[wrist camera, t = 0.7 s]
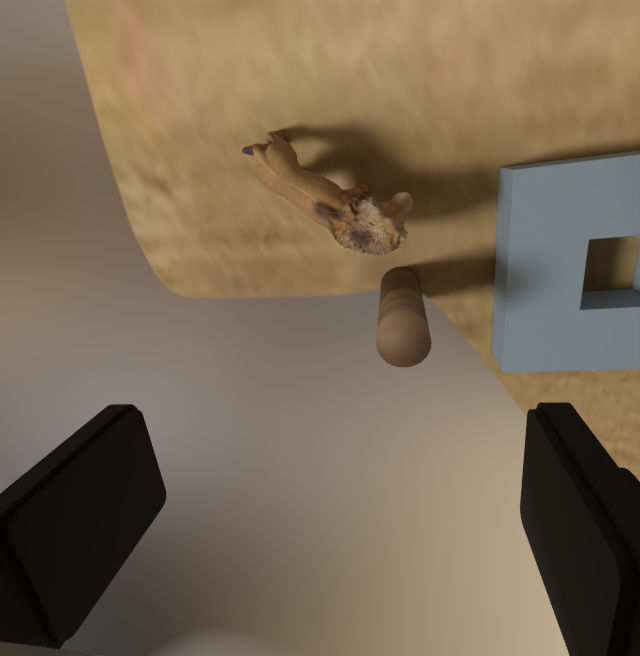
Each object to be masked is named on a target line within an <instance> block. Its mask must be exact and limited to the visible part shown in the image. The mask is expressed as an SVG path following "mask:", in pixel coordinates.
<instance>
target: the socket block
mask: <svg viewBox="0 0 640 656" xmlns="http://www.w3.org/2000/svg"><path fill="white" fill-rule="evenodd" d="M636 235H640V150H636V151H628V152H620V153H612V154H604V155H596V156H587V157H579V158H571V159H563V160H555V161H547V162H539V163H530V164H522V165H514V166H506V167H499V187H498V211H497V235H496V259H495V283H494V307H493V330H492V353H493V355H494V357H495V359H496V361H497V363H498V365H499V367H500V369H501V371H502V373H511V372H546V371H582V370H618V369H640V246H639V251H638V257H637V262H636V268H635V274H634V279H633V285H632V289H618V290H602V291H586V292H582V289H583V281H584V273H585V266H586V258H587V250H588V243H589V240H590V239H601V238H613V237H625V236H636Z"/></svg>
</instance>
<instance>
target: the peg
mask: <svg viewBox="0 0 640 656" xmlns="http://www.w3.org/2000/svg"><path fill="white" fill-rule="evenodd" d="M430 348H431V338H430V333H429V328H428V323H427V318H426V313H425V308H424V303H423V298H422V293H421V288H420V283H419V279H418V277H417V275H416V274H415V273H414V272H413V271H412V270H410V269H408V268H405V267H397V268H393V269H391V270H390V271H388V272H387V273H386V274H385V275H384V277H383V279H382V282H381V294H380V305H379V317H378V330H377V350H378V352H379V354H380V356H381V357H382V358H383V359H384V360H385V361H386V362H387V363H389V364H391V365H393V366H397V367H411V366H414V365H416V364H418V363H420V362H422V361H423V360H424V359H425V358H426V357H427V355H428V353H429V351H430Z"/></svg>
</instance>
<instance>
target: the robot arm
mask: <svg viewBox="0 0 640 656" xmlns="http://www.w3.org/2000/svg"><path fill="white" fill-rule="evenodd" d="M525 438H526V439H525V451H524V463H523V476H522V489H521V502H520V514H521V519H522V524H523V527H524V530H525V533H526V535H527V538H528V541H529V544H530V546H531V549H532V552H533V554H534V557H535V560H536V563H537V566H538V569H539V571H540V574H541V577H542V580H543V583H544V585H545V588H546V591H547V594H548V596H549V599H550V602H551V605H552V608H553V610H554V613H555V616H556V619H557V621H558V624H559V627H560V630H561V633H562V636H563V638H564V641H565V644H566V647H567V649H568V652H569V655H570V656H640V482H639V481H638V479H637V478H636V477H635V476H634V475H633V474H632V473H631V472H630V471H629V470H627V469H625V468H619V467H618V466H617V465H616V463H615V462H614V461H613V459H612V458H611V457H610V455H609V454H608V453H607V451H606V450H605V449H604V447H603V446H602V445H601V443H600V442H599V441H598V439H597V438H596V437H595V435H594V434H593V433H592V431H591V430H590V429H589V427H588V426H587V425H586V423H585V422H584V421H583V419H582V418H581V417H580V415H579V414H578V413H577V411H576V410H575V409H574V407H573V406H572V405H571V404H570V403H539V404H538V405H537V408H536V409H530V410H529V411H528V414H527V425H526V437H525ZM165 501H166V490H165V486H164V483H163V480H162V476H161V473H160V470H159V467H158V463H157V460H156V456H155V454H154V450H153V447H152V443H151V440H150V437H149V433H148V430H147V427H146V424H145V420H144V417H143V414H142V412H141V411H139V410H137V408H136V407H135V406H134V405H132V404H129V405H128V404H123V405H122V404H121V405H120V404H117V405H116V404H114V405H109V406H107V407H106V408H105V409H103V410H102V411H101V412H100V413H98V414H97V415H96V416H95V417H93V418H92V419H91V420H90V421H89V422H88V423H86V424H85V425H84V426H82V427H81V428H80V429H79V430H78V431H76V432H75V433H74V434H73V435H72V436H70V437H69V438H68V439H67V440H65V441H64V442H63V443H62V444H60V445H59V446H58V447H57V448H56V449H54V450H53V451H52V452H51V453H49V454H48V455H47V456H46V457H45V458H44V459H42V460H41V461H40V462H38V463H37V464H36V465H35V466H34V467H32V468H31V469H30V470H29V471H28V472H26V473H25V474H24V475H22V476H21V477H20V478H19V479H18V480H16V481H15V482H14V483H13V484H12V485H10V486H9V487H8V488H7V489H5V490H4V491H3V492H2V493H1V494H0V656H106V655H99V654H91V653H83V652H76V651H68V650H61V649H60V648H61V646H62V645H63V643H64V642H65V641H66V640H68V639H70V638H71V637H72V636H73V635H74V634H75V633H76V632H77V630H78V628H79V627H80V626H81V624H82V623H83V621H84V620H85V619H86V617H87V616H88V614H89V613H90V611H91V610H92V608H93V607H94V606H95V604H96V602H97V601H98V600H99V598H100V597H101V595H102V594H103V593H104V591H105V590H106V588H107V587H108V585H109V584H110V582H111V581H112V579H113V578H114V576H115V575H116V574H117V572H118V571H119V569H120V568H121V567H122V565H123V564H124V562H125V561H126V559H127V558H128V556H129V555H130V554H131V552H132V550H133V549H134V548H135V546H136V545H137V543H138V542H139V540H140V539H141V538H142V536H143V535H144V533H145V532H146V530H147V529H148V527H149V526H150V525H151V523H152V522H153V520H154V519H155V517H156V516H157V515H158V513H159V512H160V510H161V509H162V507H163V505H164V503H165Z"/></svg>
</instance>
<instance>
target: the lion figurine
mask: <svg viewBox="0 0 640 656" xmlns="http://www.w3.org/2000/svg"><path fill="white" fill-rule="evenodd" d="M266 139H267V141H268V142H269V143H270V145H269V146H268V147H267V149H266V150H265V151H264V150H262V149H261V146H260V144H258V143H257V144H255V145H254V146H253V147H252V146H249V147H244V148H243V150H242V152H243V153H245V154H249V155H254V156H255V159H256V160H257V162H258V166H257V171H258V175H259V178H260V179H261V181H262V182H263V184H264V185H265V186H266V187H267V188H268V189H269V190H271V191H272V192H274V193H276V194H278V195H281V196H283V197H284V198H286V199H287V200H289V201H290V202H291V203H293V204H294V205H295V206H296V207H297V208H299V209H300V210H301V211H302V212H303V213H305V214H306V215H307V216H308V217H310V218H311V219H313V220H314V221H316V222H317V223H319V224H321V225H323V226H325V227H327V228H328V229H329V231H330V232H331V233H332V234H333V235H334V238H335V239H336V240H337V242H338V243H339V244H341V245H343V246H344V248H351V249H353V250H356V251H359V252H360V253H365V252H366V253H368V254H370V253H373V254H374V255H382V256H384V255H385V254H386V252H390V251H393V250H395V249H397V248H399V244H400V243H401V242H404V241H405V238H406V235H407V233H408V232H406V231H405V228H404V226H403V224H404V222H405V215H406V214H407V212H409V211H410V209H411V207H412V197H411V195H410V194H409V193H407V192H404V193H403V192H401V193H398V194H396V195H395V196H394V197H393V198H392V199H391V200H390V201H385V202H382V201H381V200H378V199H377V198H372V197H369V189H368V188H367V185H358V186H355V187H354V188H352V189H347V190H342V189H341V188H340V187H339V186H338V185H337V184H335V183H333V182H332V181H330V180H329V179H327V178H324V177H322V176H320V175H318V174H316V173H314V172H311V171H308V170H305V169H303V168H302V167H300V165H299V164H298V161H297V155H296V152H295V151H294V149H293V148H292V146H291V145H290V144H289V143H288V142H286V141H285V137H284V134H283V133H281V132H278V131H273V132H269V133H268V134H267V135H266Z"/></svg>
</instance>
